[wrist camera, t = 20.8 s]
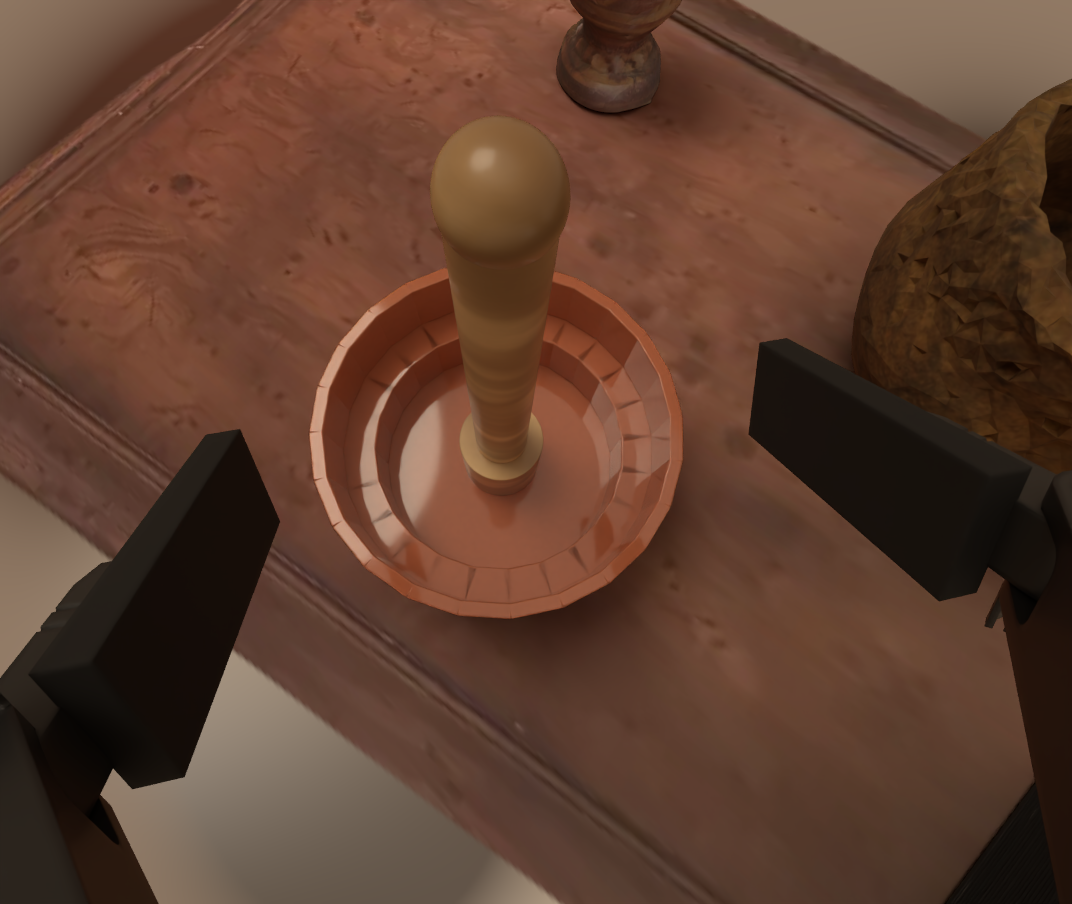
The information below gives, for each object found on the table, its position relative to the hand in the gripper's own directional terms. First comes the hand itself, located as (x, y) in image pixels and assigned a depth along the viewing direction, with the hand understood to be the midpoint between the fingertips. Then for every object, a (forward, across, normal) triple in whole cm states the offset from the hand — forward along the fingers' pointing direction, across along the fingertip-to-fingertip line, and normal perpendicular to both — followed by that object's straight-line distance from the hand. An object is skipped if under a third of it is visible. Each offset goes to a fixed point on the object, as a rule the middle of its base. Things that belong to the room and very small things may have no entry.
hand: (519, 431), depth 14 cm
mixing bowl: (+14, 0, -9) cm, 16 cm away
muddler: (+13, 0, -9) cm, 16 cm away
